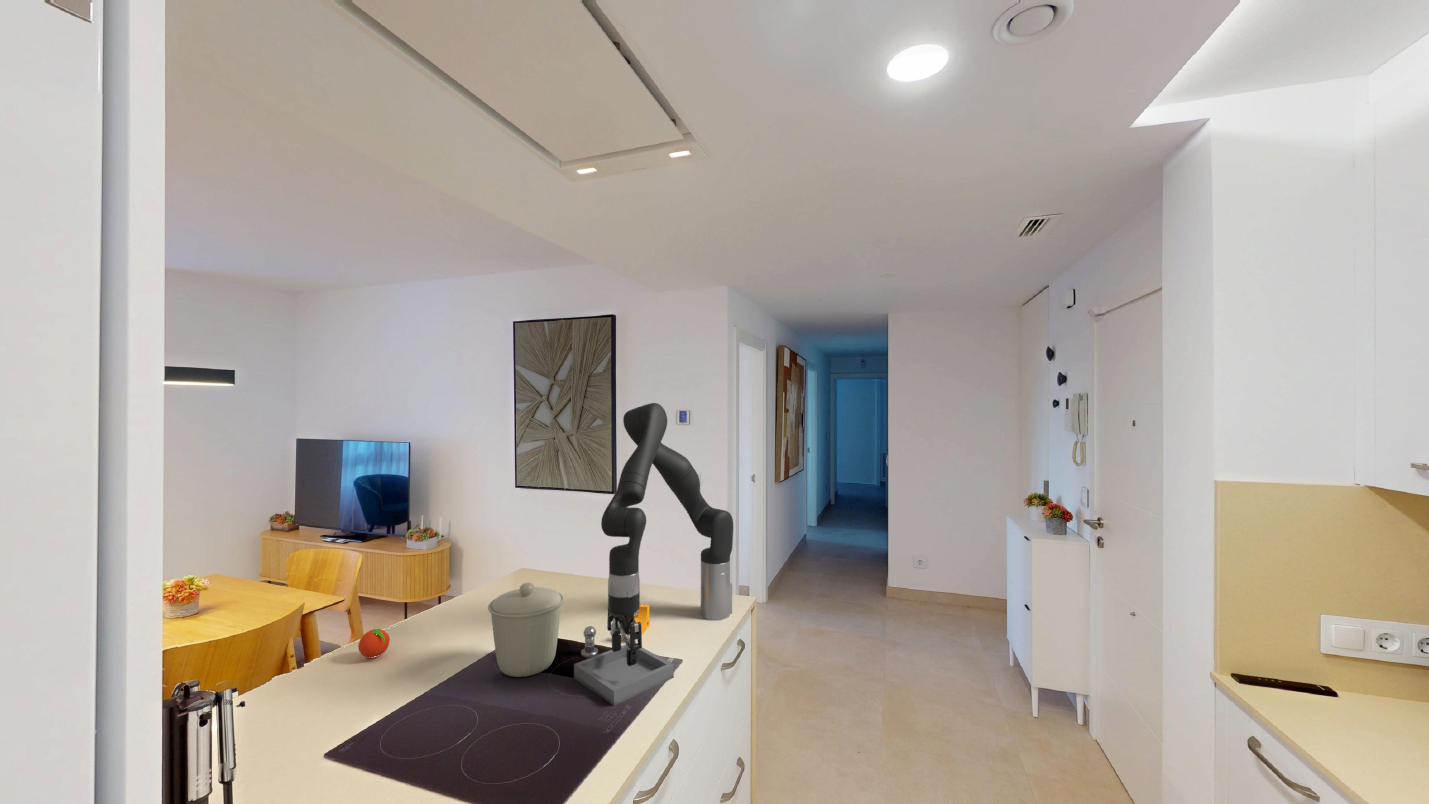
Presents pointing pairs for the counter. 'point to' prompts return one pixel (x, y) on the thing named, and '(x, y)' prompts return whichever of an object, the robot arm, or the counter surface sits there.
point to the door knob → (589, 643)
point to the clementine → (374, 643)
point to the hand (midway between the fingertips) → (623, 657)
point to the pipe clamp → (642, 618)
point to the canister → (526, 629)
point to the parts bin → (622, 674)
